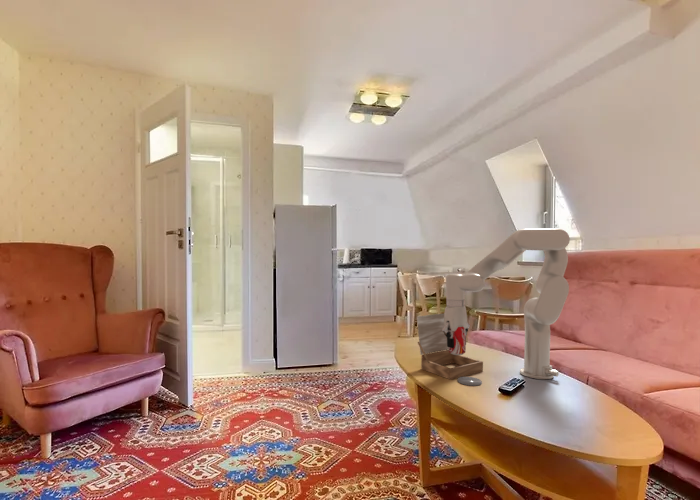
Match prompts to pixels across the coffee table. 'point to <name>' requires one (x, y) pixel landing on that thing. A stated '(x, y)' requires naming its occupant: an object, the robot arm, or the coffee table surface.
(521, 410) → the coffee table surface
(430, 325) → the brown wooden box
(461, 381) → the coaster
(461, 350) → the soda can
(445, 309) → the robot arm
